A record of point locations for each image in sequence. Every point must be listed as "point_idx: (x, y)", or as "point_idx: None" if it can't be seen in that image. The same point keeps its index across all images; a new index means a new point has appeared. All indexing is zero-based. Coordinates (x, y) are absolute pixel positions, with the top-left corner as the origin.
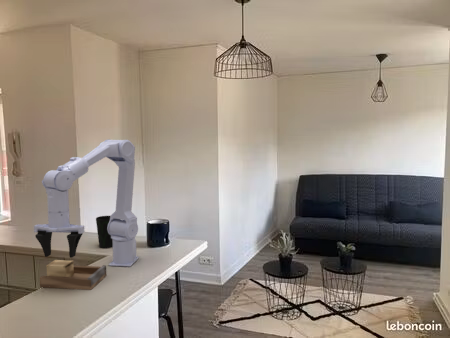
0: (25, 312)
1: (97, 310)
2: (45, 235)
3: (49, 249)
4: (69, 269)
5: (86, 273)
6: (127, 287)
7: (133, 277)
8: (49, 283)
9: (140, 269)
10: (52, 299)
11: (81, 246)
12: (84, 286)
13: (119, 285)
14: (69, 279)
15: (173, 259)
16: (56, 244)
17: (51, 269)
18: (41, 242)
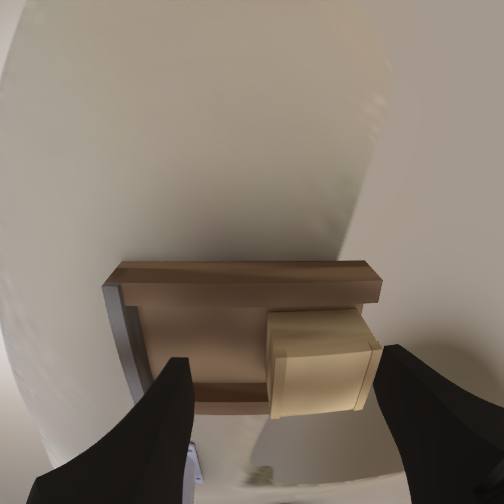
0: (288, 18)
1: (20, 95)
2: (469, 486)
3: (392, 406)
4: (269, 367)
5: (217, 383)
6: (22, 293)
7: (56, 368)
8: (326, 269)
9: (80, 417)
10: (240, 141)
11: (343, 498)
12: (146, 267)
13: (51, 308)
14: (219, 282)
15: (57, 454)
16: (404, 485)
17: (350, 340)
18: (477, 410)
